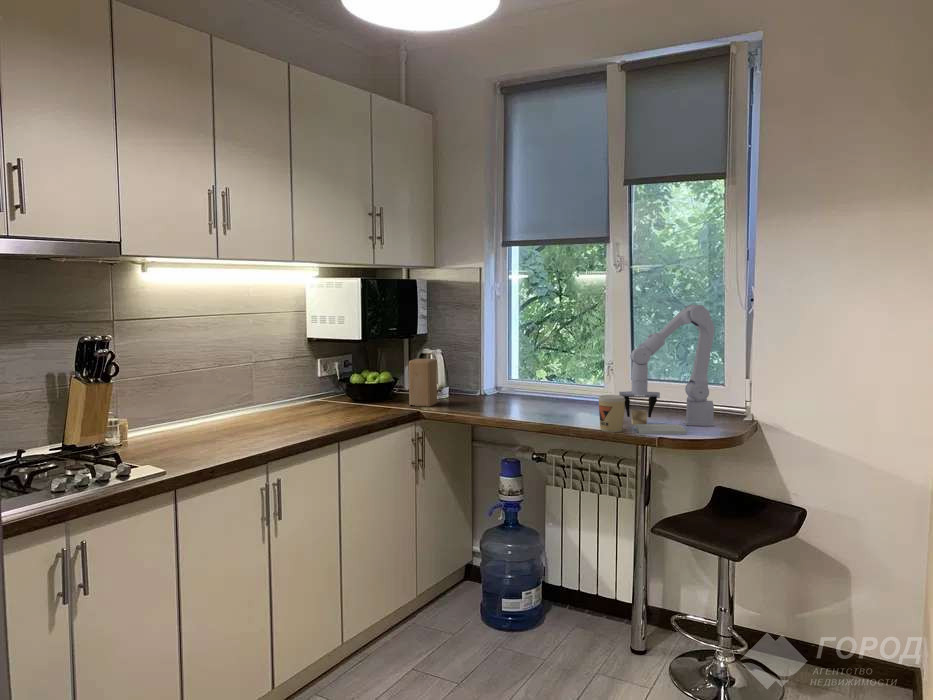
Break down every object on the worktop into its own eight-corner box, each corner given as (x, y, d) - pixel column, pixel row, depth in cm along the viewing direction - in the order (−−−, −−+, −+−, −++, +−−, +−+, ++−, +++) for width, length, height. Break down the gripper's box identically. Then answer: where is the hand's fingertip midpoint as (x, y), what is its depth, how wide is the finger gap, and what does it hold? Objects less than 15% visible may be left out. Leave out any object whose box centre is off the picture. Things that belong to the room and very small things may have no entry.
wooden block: (408, 406, 311) (407, 360, 309) (416, 402, 320) (416, 358, 319) (430, 407, 308) (429, 360, 306) (437, 403, 317) (437, 358, 316)
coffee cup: (593, 428, 259) (593, 395, 258) (615, 426, 262) (615, 394, 261) (607, 433, 250) (607, 399, 249) (630, 431, 254) (630, 397, 253)
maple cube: (645, 423, 269) (645, 410, 269) (646, 425, 264) (646, 412, 264) (631, 423, 270) (631, 410, 269) (632, 425, 265) (633, 412, 264)
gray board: (680, 427, 259) (680, 424, 259) (686, 434, 247) (686, 431, 247) (635, 427, 261) (635, 423, 261) (639, 433, 249) (639, 430, 249)
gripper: (620, 381, 262) (619, 418, 264) (661, 382, 261) (660, 419, 262) (618, 379, 269) (618, 415, 271) (658, 379, 268) (657, 415, 269)
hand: (638, 416), depth 267 cm, fingers open, 7 cm apart
